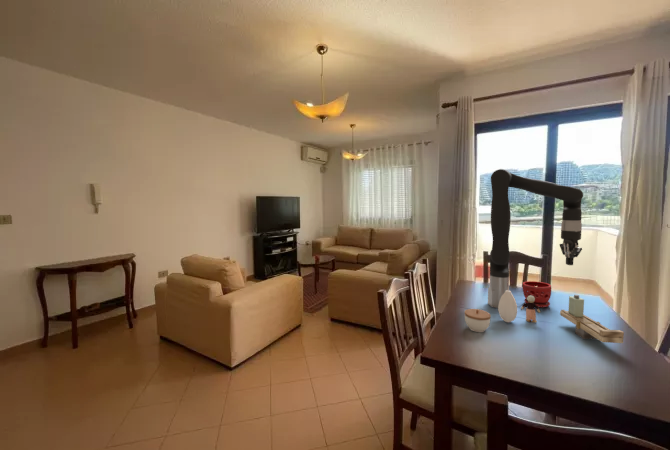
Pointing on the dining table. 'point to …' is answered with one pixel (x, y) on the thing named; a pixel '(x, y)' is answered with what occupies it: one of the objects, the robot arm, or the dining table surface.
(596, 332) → the beam
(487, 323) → the lidded jar
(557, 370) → the dining table surface
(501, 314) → the white teardrop vase
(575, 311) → the block
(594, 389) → the dining table surface
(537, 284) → the plant pot
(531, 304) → the grandmother figurine
